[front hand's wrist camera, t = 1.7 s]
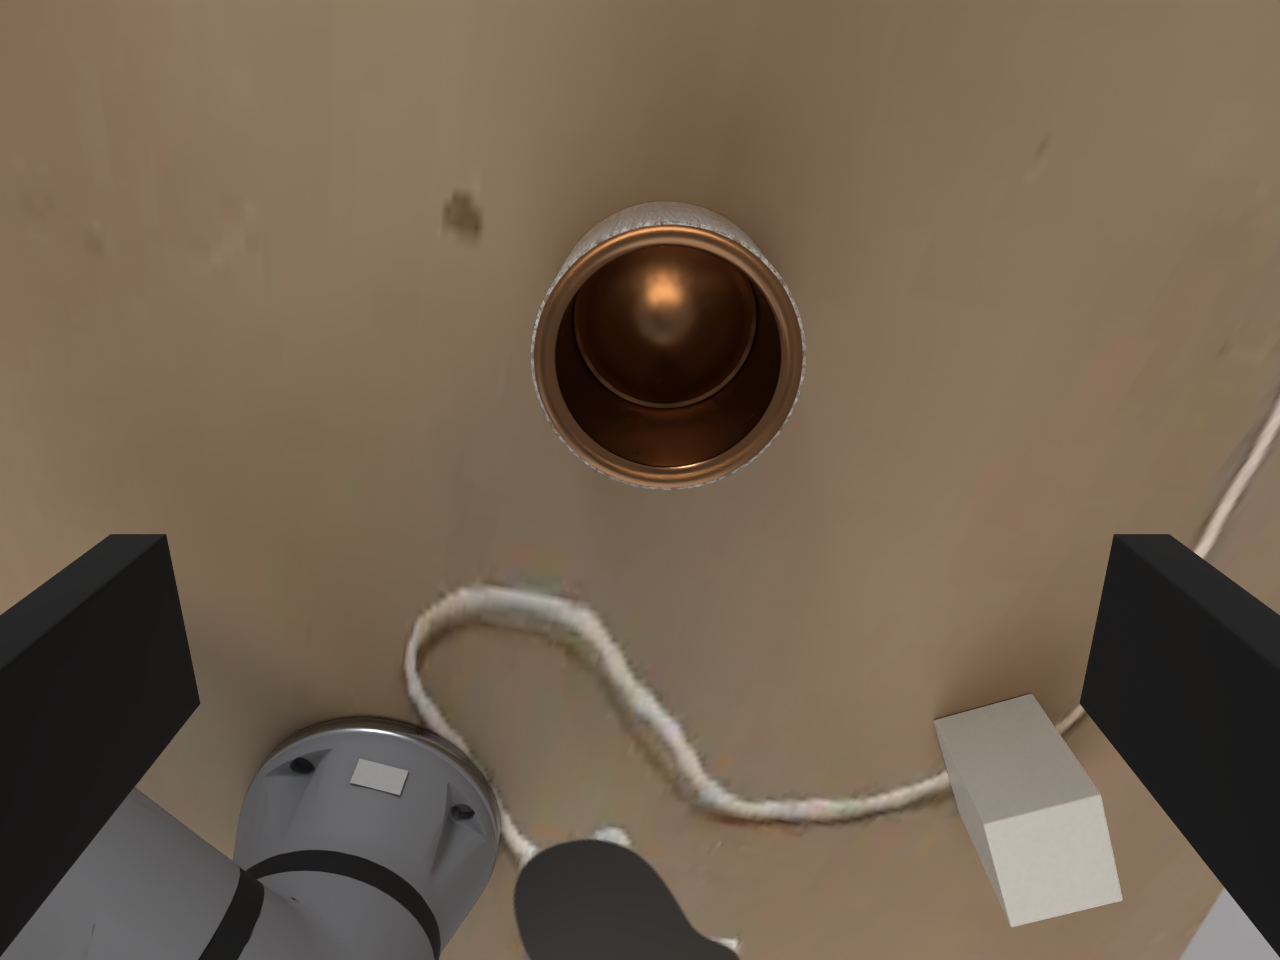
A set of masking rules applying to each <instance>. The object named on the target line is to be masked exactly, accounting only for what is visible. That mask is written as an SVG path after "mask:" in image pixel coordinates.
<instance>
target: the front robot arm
mask: <svg viewBox="0 0 1280 960" xmlns="http://www.w3.org/2000/svg"><path fill="white" fill-rule="evenodd" d="M199 704H200V700H199V695H198V690H197V685H196V680H195V675H194V670H193V665H192V660H191V655H190V650H189V645H188V640H187V635H186V631H185V626H184V621H183V616H182V611H181V606H180V601H179V596H178V591H177V586H176V581H175V576H174V571H173V566H172V561H171V556H170V551H169V546H168V541H167V536H166V534H111V535H109V536H108V537H106V538H105V539H104V540H102V541H101V542H100V543H98V544H97V545H96V546H94V547H93V548H91V549H90V550H89V551H87V552H86V553H85V554H83V555H82V556H81V557H79V558H78V559H77V560H75V561H74V562H72V563H71V564H70V565H68V566H67V567H66V568H64V569H63V570H62V571H60V572H59V573H57V574H56V575H55V576H53V577H52V578H51V579H49V580H48V581H47V582H45V583H44V584H42V585H41V586H40V587H38V588H37V589H36V590H34V591H33V592H32V593H30V594H29V595H28V596H26V597H25V598H23V599H22V600H21V601H19V602H18V603H17V604H15V605H14V606H13V607H11V608H10V609H8V610H7V611H6V612H4V613H3V614H2V615H0V960H439V957H440V954H441V952H442V951H443V949H444V948H445V946H446V945H447V944H448V942H449V941H450V939H451V938H452V936H453V935H454V933H455V932H456V930H457V929H458V928H459V926H460V925H461V923H462V922H463V920H464V919H465V917H466V916H467V914H468V913H469V912H470V910H471V909H472V907H473V906H474V904H475V903H476V901H477V900H478V899H479V897H480V896H481V894H482V892H483V890H484V889H485V887H486V884H487V882H488V880H489V878H490V876H491V874H492V871H493V868H494V865H495V861H496V856H497V851H498V847H499V841H500V833H501V823H500V814H499V809H498V805H497V802H496V799H495V797H494V794H493V792H492V790H491V788H490V786H489V784H488V783H487V781H486V779H485V778H484V776H483V775H482V774H481V772H480V771H479V770H478V769H477V767H476V766H475V765H474V764H473V763H472V762H471V761H470V760H469V759H468V758H467V757H466V756H465V755H464V754H463V753H461V752H460V751H459V750H458V749H456V748H455V747H454V746H452V745H451V744H449V743H448V742H446V741H445V740H443V739H441V738H439V737H438V736H436V735H434V734H432V733H430V732H428V731H425V730H423V729H421V728H418V727H415V726H412V725H409V724H406V723H402V722H398V721H394V720H388V719H382V718H371V717H352V718H341V719H335V720H330V721H326V722H322V723H319V724H316V725H313V726H310V727H308V728H306V729H303V730H301V731H299V732H297V733H296V734H294V735H292V736H291V737H289V738H288V739H286V740H285V741H284V742H282V743H281V744H280V745H279V746H278V747H277V748H276V749H275V750H274V751H273V752H272V753H271V754H270V755H269V756H268V758H267V759H266V760H265V762H264V763H263V765H262V766H261V768H260V770H259V771H258V773H257V775H256V776H255V778H254V779H253V781H252V783H251V784H250V786H249V788H248V791H247V793H246V795H245V799H244V802H243V805H242V808H241V811H240V816H239V822H238V829H237V836H236V843H235V850H234V857H233V861H232V860H230V859H229V858H228V857H226V856H225V855H224V854H222V853H221V852H220V851H218V850H217V849H215V848H214V847H213V846H211V845H210V844H209V843H207V842H206V841H205V840H203V839H202V838H201V837H199V836H198V835H197V834H195V833H194V832H193V831H192V830H190V829H189V828H188V827H186V826H185V825H184V824H182V823H181V822H180V821H178V820H177V819H176V818H175V817H173V816H172V815H171V814H169V813H168V812H167V811H165V810H164V809H163V808H161V807H160V806H159V805H158V804H156V803H155V802H154V801H152V800H151V799H150V798H148V797H147V796H146V795H144V794H143V793H142V792H141V791H139V790H138V789H137V788H135V786H136V784H137V783H138V782H139V781H140V779H141V778H142V777H143V776H144V774H145V773H146V772H147V770H148V769H149V768H150V767H151V765H152V764H153V763H154V762H155V760H156V759H157V758H158V756H159V755H160V754H161V753H162V751H163V750H164V749H165V748H166V746H167V745H168V744H169V743H170V741H171V740H172V739H173V737H174V736H175V735H176V734H177V732H178V731H179V730H180V729H181V727H182V726H183V725H184V723H185V722H186V721H187V720H188V718H189V717H190V716H191V715H192V713H193V712H194V711H195V710H196V708H197V707H198V706H199ZM1080 704H1081V706H1082V707H1083V708H1084V710H1085V711H1086V712H1087V713H1088V715H1089V716H1090V717H1091V718H1092V720H1093V721H1094V722H1095V723H1096V725H1097V726H1098V727H1099V729H1100V730H1101V731H1102V732H1103V734H1104V735H1105V736H1106V737H1107V739H1108V740H1109V741H1110V743H1111V744H1112V745H1113V746H1114V748H1115V749H1116V750H1117V751H1118V753H1119V754H1120V755H1121V756H1122V758H1123V759H1124V760H1125V762H1126V763H1127V764H1128V765H1129V767H1130V768H1131V769H1132V770H1133V772H1134V773H1135V774H1136V776H1137V777H1138V778H1139V779H1140V781H1141V782H1142V783H1143V784H1144V786H1145V787H1146V788H1147V789H1148V791H1149V792H1150V793H1151V795H1152V796H1153V797H1154V798H1155V800H1156V801H1157V802H1158V803H1159V805H1160V806H1161V807H1162V809H1163V810H1164V811H1165V812H1166V814H1167V815H1168V816H1169V817H1170V819H1171V820H1172V821H1173V822H1174V824H1175V825H1176V826H1177V828H1178V829H1179V830H1180V831H1181V833H1182V834H1183V835H1184V836H1185V838H1186V839H1187V840H1188V841H1189V843H1190V844H1191V845H1192V847H1193V848H1194V849H1195V850H1196V852H1197V853H1198V854H1199V855H1200V857H1201V858H1202V859H1203V861H1204V862H1205V863H1206V864H1207V866H1208V867H1209V868H1210V869H1211V871H1212V872H1213V873H1214V874H1215V876H1216V877H1217V878H1218V880H1219V881H1220V882H1221V883H1222V885H1223V886H1224V887H1225V888H1226V890H1227V891H1228V892H1229V894H1230V895H1231V896H1232V897H1233V899H1234V900H1235V901H1236V902H1237V904H1238V905H1239V906H1240V907H1241V909H1242V910H1243V911H1244V913H1245V914H1246V915H1247V916H1248V918H1249V919H1250V920H1251V921H1252V923H1253V924H1254V925H1255V927H1256V928H1257V929H1258V930H1259V932H1260V933H1261V934H1262V935H1263V937H1264V938H1265V939H1266V940H1267V942H1268V943H1269V944H1270V945H1271V947H1272V948H1273V949H1274V951H1275V952H1276V953H1277V954H1278V956H1279V957H1280V615H1278V614H1277V613H1276V612H1274V611H1273V610H1272V609H1270V608H1269V607H1267V606H1266V605H1265V604H1263V603H1262V602H1261V601H1259V600H1258V599H1257V598H1255V597H1254V596H1252V595H1251V594H1250V593H1248V592H1247V591H1246V590H1244V589H1243V588H1242V587H1240V586H1239V585H1238V584H1236V583H1235V582H1233V581H1232V580H1231V579H1229V578H1228V577H1227V576H1225V575H1224V574H1223V573H1221V572H1220V571H1218V570H1217V569H1216V568H1214V567H1213V566H1212V565H1210V564H1209V563H1208V562H1206V561H1205V560H1203V559H1202V558H1201V557H1199V556H1198V555H1197V554H1195V553H1194V552H1193V551H1191V550H1190V549H1189V548H1187V547H1186V546H1184V545H1183V544H1182V543H1180V542H1179V541H1178V540H1176V539H1175V538H1174V537H1172V536H1171V535H1169V534H1114V536H1113V541H1112V546H1111V551H1110V556H1109V561H1108V566H1107V571H1106V576H1105V581H1104V586H1103V591H1102V596H1101V601H1100V606H1099V611H1098V616H1097V621H1096V626H1095V631H1094V635H1093V640H1092V645H1091V650H1090V655H1089V660H1088V665H1087V670H1086V675H1085V680H1084V685H1083V690H1082V695H1081V700H1080Z"/></svg>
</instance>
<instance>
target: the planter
mask: <svg viewBox="0 0 1280 960" xmlns="http://www.w3.org/2000/svg"><path fill="white" fill-rule="evenodd" d="M805 361H806V347H805V336H804V330H803V325H802V321H801V318H800V314H799V311H798V308H797V306H796V303H795V301H794V298H793V296H792V294H791V292H790V290H789V289H788V287H787V285H786V283H785V282H784V280H783V279H782V278H781V276H780V275H779V273H778V272H777V271H776V270H775V268H774V267H773V266H772V265H771V264H770V262H769V261H768V260H767V259H766V257H765V256H764V255H763V253H762V252H761V251H760V249H759V248H758V247H757V246H756V244H755V243H754V242H753V241H752V240H751V239H750V237H749V236H748V235H747V234H746V233H745V232H744V231H742V230H741V229H740V228H739V227H738V226H737V225H735V224H734V223H732V222H731V221H730V220H728V219H726V218H725V217H723V216H721V215H720V214H718V213H716V212H714V211H711V210H709V209H706V208H703V207H700V206H697V205H693V204H689V203H683V202H673V201H658V202H649V203H644V204H639V205H635V206H632V207H629V208H626V209H623V210H621V211H619V212H616V213H614V214H612V215H611V216H609V217H607V218H605V219H604V220H602V221H601V222H599V223H598V224H597V225H595V226H594V227H593V228H592V229H590V230H589V231H588V232H587V233H586V234H585V235H584V236H583V237H582V238H581V239H580V240H579V242H578V243H577V244H576V245H575V246H574V248H573V249H572V250H571V252H570V254H569V255H568V257H567V258H566V260H565V262H564V263H563V265H562V267H561V269H560V271H559V273H558V275H557V276H556V278H555V280H554V281H553V283H552V285H551V286H550V288H549V290H548V292H547V294H546V295H545V297H544V300H543V302H542V304H541V306H540V309H539V312H538V315H537V318H536V322H535V326H534V331H533V336H532V345H531V368H532V376H533V382H534V387H535V391H536V394H537V397H538V401H539V403H540V406H541V408H542V411H543V413H544V415H545V417H546V419H547V421H548V422H549V424H550V426H551V427H552V429H553V430H554V432H555V433H556V434H557V436H558V437H559V439H560V440H561V441H562V442H563V443H564V444H565V446H566V447H567V448H568V449H569V450H570V451H571V452H572V453H573V454H574V455H576V456H577V457H578V458H579V459H580V460H582V461H583V462H584V463H585V464H587V465H588V466H590V467H591V468H593V469H594V470H596V471H598V472H599V473H601V474H603V475H605V476H607V477H609V478H612V479H614V480H616V481H619V482H622V483H625V484H628V485H632V486H635V487H640V488H646V489H654V490H680V489H688V488H694V487H699V486H703V485H707V484H710V483H713V482H716V481H718V480H721V479H723V478H725V477H727V476H729V475H731V474H734V473H735V472H737V471H739V470H740V469H742V468H744V467H745V466H746V465H748V464H749V463H751V462H752V461H753V460H755V459H756V458H757V457H758V456H759V455H761V454H762V453H763V452H764V451H765V450H766V449H767V448H768V447H769V446H770V445H771V443H772V442H773V441H774V440H775V439H776V437H777V436H778V435H779V434H780V432H781V431H782V429H783V428H784V426H785V425H786V423H787V421H788V420H789V418H790V416H791V414H792V412H793V410H794V408H795V405H796V403H797V400H798V397H799V394H800V391H801V387H802V383H803V378H804V372H805Z"/></svg>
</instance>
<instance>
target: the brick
mask: <svg viewBox="0 0 1280 960" xmlns="http://www.w3.org/2000/svg"><path fill="white" fill-rule="evenodd" d="M934 726H935V729H936V733H937V736H938V740H939V743H940V747H941V750H942V754H943V758H944V761H945V765H946V768H947V772H948V775H949V779H950V782H951V786H952V790H953V793H954V797H955V800H956V804H957V807H958V811H959V814H960V816H961V818H962V820H963V823H964V825H965V827H966V829H967V831H968V834H969V836H970V838H971V840H972V843H973V845H974V847H975V849H976V851H977V854H978V856H979V858H980V860H981V862H982V865H983V867H984V869H985V871H986V873H987V876H988V878H989V880H990V882H991V884H992V887H993V889H994V891H995V893H996V895H997V898H998V900H999V902H1000V904H1001V906H1002V909H1003V911H1004V913H1005V915H1006V917H1007V920H1008V922H1009V924H1010V926H1011V927H1015V926H1019V925H1023V924H1027V923H1031V922H1035V921H1040V920H1044V919H1048V918H1052V917H1056V916H1060V915H1064V914H1069V913H1073V912H1077V911H1081V910H1085V909H1089V908H1093V907H1098V906H1102V905H1106V904H1110V903H1114V902H1118V901H1122V900H1123V898H1122V893H1121V889H1120V884H1119V879H1118V874H1117V869H1116V865H1115V860H1114V855H1113V850H1112V845H1111V841H1110V836H1109V831H1108V826H1107V822H1106V817H1105V812H1104V807H1103V802H1102V798H1101V794H1100V793H1099V791H1098V790H1097V788H1096V787H1095V785H1094V784H1093V782H1092V781H1091V779H1090V778H1089V776H1088V775H1087V773H1086V772H1085V771H1084V769H1083V768H1082V766H1081V765H1080V763H1079V762H1078V760H1077V759H1076V757H1075V756H1074V754H1073V753H1072V751H1071V750H1070V749H1069V747H1068V746H1067V744H1066V743H1065V741H1064V740H1063V738H1062V737H1061V735H1060V734H1059V732H1058V731H1057V729H1056V728H1055V726H1054V725H1053V724H1052V722H1051V721H1050V719H1049V718H1048V716H1047V715H1046V713H1045V712H1044V710H1043V709H1042V707H1041V706H1040V704H1039V703H1038V702H1037V700H1036V699H1035V697H1034V696H1033V694H1028V695H1024V696H1020V697H1017V698H1013V699H1009V700H1006V701H1002V702H998V703H995V704H991V705H988V706H984V707H980V708H977V709H973V710H969V711H966V712H962V713H958V714H955V715H951V716H948V717H944V718H940V719H937V720H934Z"/></svg>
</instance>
